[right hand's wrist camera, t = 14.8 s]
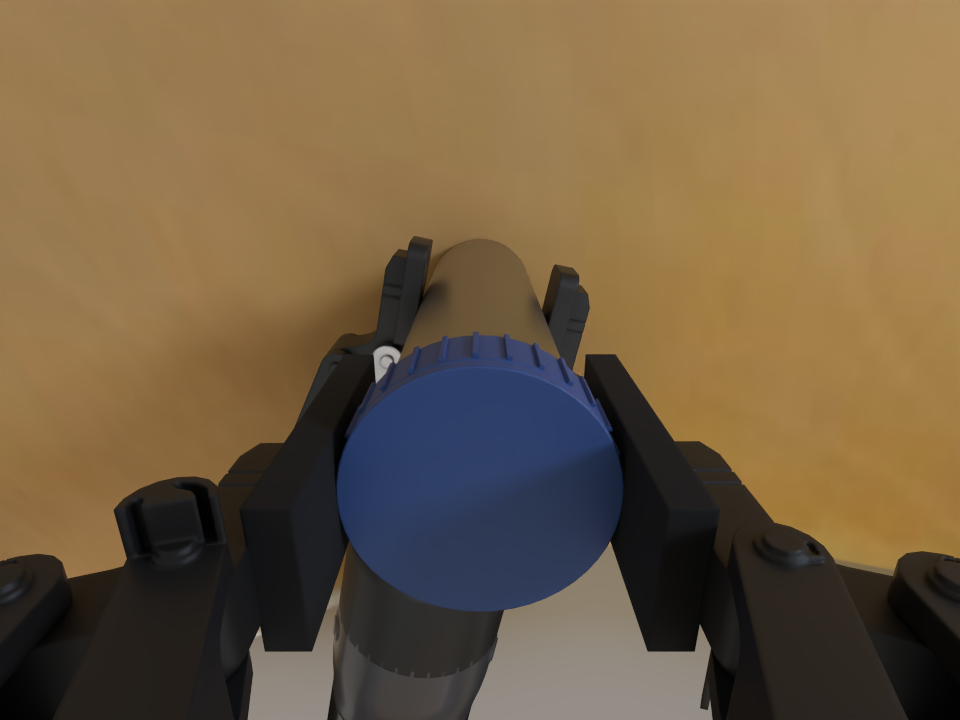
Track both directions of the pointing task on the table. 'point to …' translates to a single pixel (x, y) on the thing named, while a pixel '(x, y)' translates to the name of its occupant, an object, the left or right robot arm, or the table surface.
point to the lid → (479, 475)
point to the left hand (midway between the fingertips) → (495, 257)
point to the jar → (480, 299)
